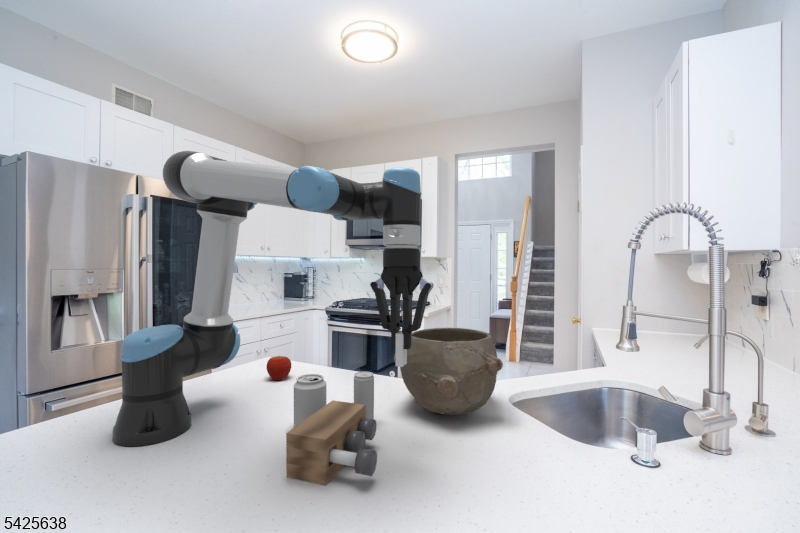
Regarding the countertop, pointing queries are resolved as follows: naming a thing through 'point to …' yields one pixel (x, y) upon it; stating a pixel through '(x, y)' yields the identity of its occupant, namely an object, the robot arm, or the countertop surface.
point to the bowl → (451, 369)
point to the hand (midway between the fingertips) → (401, 364)
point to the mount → (320, 441)
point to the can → (308, 396)
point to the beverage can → (364, 391)
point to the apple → (278, 367)
